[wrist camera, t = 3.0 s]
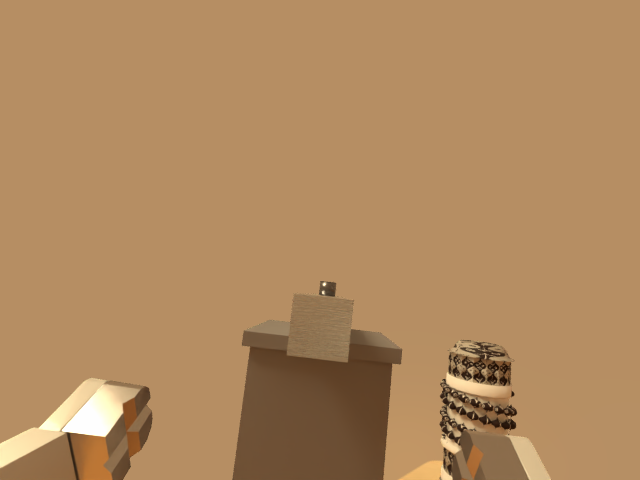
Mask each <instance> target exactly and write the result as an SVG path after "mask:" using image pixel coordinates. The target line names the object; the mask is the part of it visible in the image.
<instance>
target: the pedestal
mask: <svg viewBox="0 0 640 480" xmlns="http://www.w3.org/2000/svg"><path fill="white" fill-rule="evenodd" d="M289 329H290V322H283V321H274V320H269V321H266V322H264V323H261V324H259V325H257V326H254V327H252V328H249V329H247V330H245V331H244V333H243V340H242V345H243V346H250V353H249V360H248V368H247V375H246V383H245V391H244V398H243V405H242V413H241V420H240V428H239V435H238V443H237V450H236V458H235V465H234V473H233V480H383V475H384V462H385V450H386V436H387V424H388V411H389V397H390V386H391V372H392V363H393V364H401V357H402V349H401V348H400V347H398V346H397V345H396V344H394V343H393V342H392V341H391V340H389V339H388V338H387V337H385V336H384V335H383V334H382V333H379V332H370V331H361V330H352V329H351V334H350V344H349V355H348V363H347V362H338V361H330V360H322V359H313V358H305V357H297V356H288V355H287V346H288V338H289Z"/></svg>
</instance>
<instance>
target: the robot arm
mask: <svg viewBox="0 0 640 480" xmlns="http://www.w3.org/2000/svg"><path fill="white" fill-rule="evenodd" d="M149 399H150V392H149V388H148V387H145V386H140V385H134V384H128V383H121V382H116V381H107V380H101V379H95V378H90V379H88V380H86V381H84V382H83V383H82V384H81V385H80V386H79V387H78V388H77V389H76V390H75V391H74V392H73V393H72V395H70V396H69V398H68V399H67V400H66V401H65V402H64V403H63V404H62V405H61V406H60V407H59V408H58V409H57V410H56V411H55V412H54V413H53V414H52V415H51V416H50V417H49V418H48V419H47V420H46V421H45V422H44V423H43V424H42V425H41V426H40V427H39V428H31V429H29V430H27V431H25V432H23V433H21V434H19V435H17V436H15V437H13V438H11V439H9V440H7V441H5V442H3V443H1V444H0V480H123V479H124V477H125V475H126V474H127V472H128V470H129V469H130V467H131V466H130V457H131V456H133V455H134V454H136V453H137V452H139V451H140V450H141V449H142V447H143V445H144V444H145V442H146V440H147V438H148V435H149V432H150V429H151V424H152V411H151V410H150V409H149V407H148V406H147V405H146V404H147V402H148V401H149ZM459 442H460V445H461V448H462V449H461V450H460V451H458V452H457V453H455V456H454V460H453V464H452V478H453V480H551V478H550V476H549V474H548V472H547V471H546V469H545V467H544V465H543V463H542V461H541V460H540V458H539V456H538V454H537V452H536V450H535V448H534V446H533V444H532V443H531V441H530V440H529V439H528V438H526V437H518V436H510V435H503V434H495V433H487V432H479V431H471V430H464V431H463V432H462V434H461V437H460V440H459Z"/></svg>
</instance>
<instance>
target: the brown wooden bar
mask: <svg viewBox="0 0 640 480" xmlns="http://www.w3.org/2000/svg"><path fill="white" fill-rule="evenodd" d="M335 290H336V283H333V282H324V281H321V282H320V290H319V295H317V294H294V297H293V304H292V313H291V321H290V329H289V338H288V346H287V355H288V356H297V357H305V358H313V359H322V360H330V361H338V362H347V363H348V355H349V344H350V334H351V323H352V312H353V302H354V301H353V300H351V299H346V298H343V297H335Z"/></svg>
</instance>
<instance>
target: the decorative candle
mask: <svg viewBox="0 0 640 480" xmlns="http://www.w3.org/2000/svg"><path fill="white" fill-rule="evenodd" d="M448 351H449V367H448V373H447V378H446V379H443V380H442V382H441V384H440V385H441V386H442V387H443V391H442V393H441V394H440V397H441V398H442V402H443V403H444V404H446V405H444V406H442V409H441V410H440V414H441V415H442V421H441V422H440V426H441V430H442V431H443V432H444V433H443V434H442V438H441V443H442V445H443V447H444V455H443V464H442V466H441V477H440V480H453V478H452V464H453V460H454V456H455V453H457V452H458V451H460V450H461V449H462V448H461V445H460V442H459V440H460V437H461V434H462V432H463V431H464V430H471V431H479V432H487V433H495V434H503V435H507V433H508V429H509V430H511V429H515V428H516V423H515V422H514V421H513V420H512V419H511V420H510V419H508V416H511V417H512V416H514V415H516V414H517V411H516V409H515V408H513V407H512V406H508V403H509V398H510V397H512V396H514V392H512V384H511V383H510V378H511V362H512V361H514V360H513V359H511V358H510V357H509V356H508V354H507V352H506V350H505V349H504V348H503V347H502V346H499V345H496V344H491V343H485V342H479V341H469V340H460V341H458V342H457V343H456V344H455V346H454V347H453V349H450V350H448ZM447 396H448V397H447ZM445 424H446V425H445Z"/></svg>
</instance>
